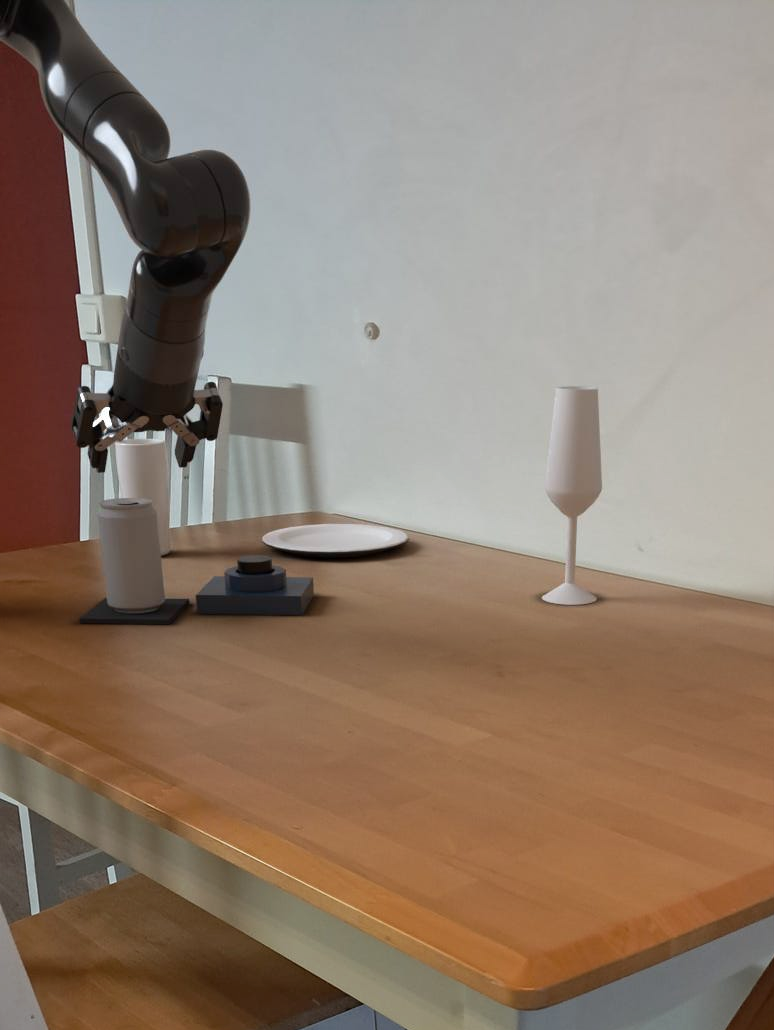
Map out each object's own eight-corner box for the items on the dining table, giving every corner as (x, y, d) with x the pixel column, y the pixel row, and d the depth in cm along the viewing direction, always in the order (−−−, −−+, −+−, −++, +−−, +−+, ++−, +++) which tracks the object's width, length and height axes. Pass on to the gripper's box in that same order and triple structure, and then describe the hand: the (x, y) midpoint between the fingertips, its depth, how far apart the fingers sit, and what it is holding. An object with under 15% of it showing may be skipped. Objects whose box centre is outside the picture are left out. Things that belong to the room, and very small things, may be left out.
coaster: (79, 623, 141) (78, 618, 141) (105, 602, 150) (104, 597, 150) (169, 624, 141) (168, 619, 141) (189, 603, 150) (189, 598, 150)
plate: (297, 568, 169) (296, 555, 168) (240, 542, 185) (239, 530, 184) (434, 553, 179) (434, 541, 178) (369, 530, 195) (369, 518, 194)
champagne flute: (536, 593, 156) (541, 385, 147) (588, 591, 158) (597, 385, 148) (548, 605, 150) (555, 390, 141) (603, 603, 152) (613, 390, 142)
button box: (197, 614, 146) (194, 579, 144) (215, 594, 155) (212, 561, 153) (301, 615, 145) (300, 580, 144) (313, 595, 154) (312, 562, 153)
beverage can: (118, 617, 141) (106, 507, 136) (100, 605, 146) (88, 498, 141) (173, 610, 144) (163, 502, 139) (154, 599, 149) (144, 494, 144)
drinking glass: (117, 553, 177) (104, 441, 171) (160, 547, 181) (149, 437, 175) (141, 561, 172) (129, 445, 166) (185, 554, 177) (175, 441, 170)
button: (234, 577, 147) (233, 562, 146) (241, 570, 150) (240, 555, 150) (269, 577, 147) (268, 562, 146) (275, 570, 150) (274, 555, 150)
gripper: (222, 317, 123) (196, 431, 136) (72, 319, 116) (60, 437, 130) (245, 380, 121) (216, 488, 134) (93, 384, 114) (79, 498, 128)
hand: (139, 463), depth 132 cm, fingers open, 8 cm apart
